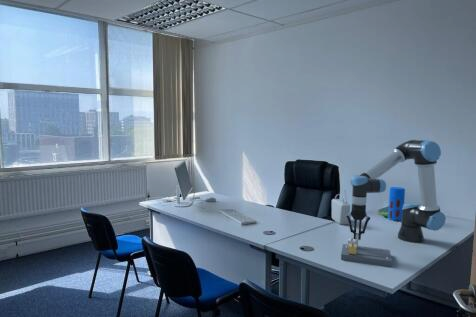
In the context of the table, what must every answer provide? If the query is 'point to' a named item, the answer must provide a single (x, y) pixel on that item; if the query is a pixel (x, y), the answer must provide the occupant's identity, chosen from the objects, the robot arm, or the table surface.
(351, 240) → the fader grey
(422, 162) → the robot arm
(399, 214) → the thermos
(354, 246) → the fader amber
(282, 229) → the table surface
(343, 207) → the white jerry can
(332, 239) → the table surface
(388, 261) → the board
